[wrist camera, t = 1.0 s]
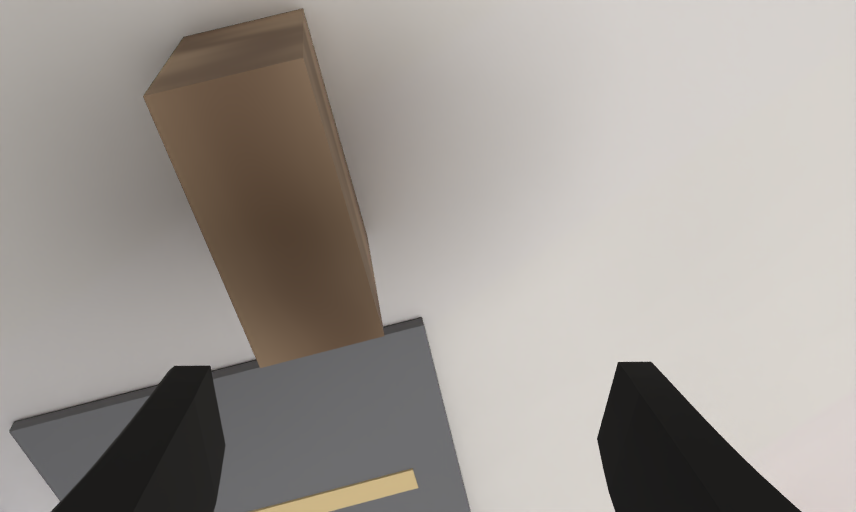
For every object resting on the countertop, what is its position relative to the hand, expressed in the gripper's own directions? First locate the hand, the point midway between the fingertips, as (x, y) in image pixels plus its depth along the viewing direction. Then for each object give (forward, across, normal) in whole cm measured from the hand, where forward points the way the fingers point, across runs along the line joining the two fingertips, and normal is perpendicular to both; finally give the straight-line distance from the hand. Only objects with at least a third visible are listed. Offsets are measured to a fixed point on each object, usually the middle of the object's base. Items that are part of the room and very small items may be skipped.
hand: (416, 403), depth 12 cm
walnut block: (+12, +4, +1) cm, 13 cm away
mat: (+10, +5, +17) cm, 21 cm away
